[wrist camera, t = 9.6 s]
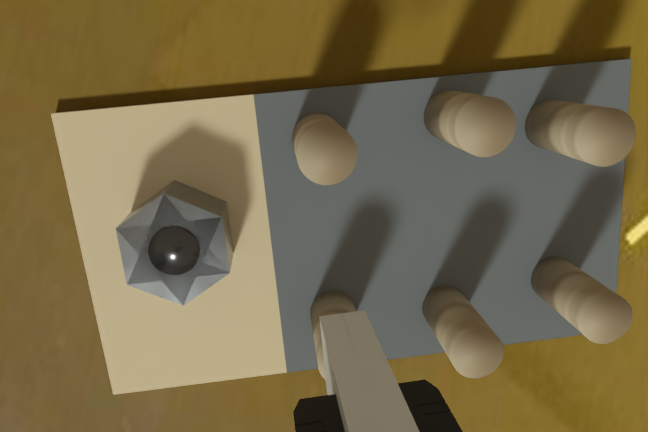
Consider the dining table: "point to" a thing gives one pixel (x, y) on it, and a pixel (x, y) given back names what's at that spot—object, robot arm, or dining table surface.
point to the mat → (339, 219)
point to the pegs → (485, 141)
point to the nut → (176, 243)
